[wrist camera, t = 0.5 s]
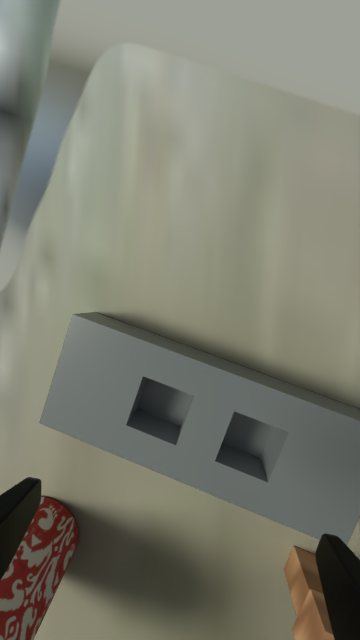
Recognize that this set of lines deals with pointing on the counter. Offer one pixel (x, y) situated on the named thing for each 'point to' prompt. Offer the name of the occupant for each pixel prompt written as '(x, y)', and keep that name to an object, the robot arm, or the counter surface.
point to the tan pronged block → (307, 597)
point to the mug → (36, 570)
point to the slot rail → (209, 424)
